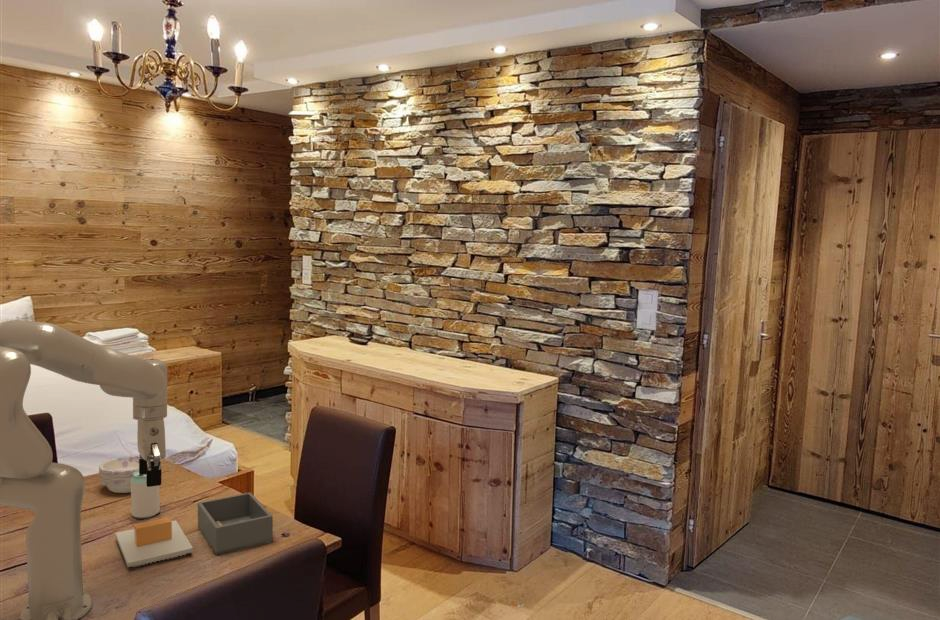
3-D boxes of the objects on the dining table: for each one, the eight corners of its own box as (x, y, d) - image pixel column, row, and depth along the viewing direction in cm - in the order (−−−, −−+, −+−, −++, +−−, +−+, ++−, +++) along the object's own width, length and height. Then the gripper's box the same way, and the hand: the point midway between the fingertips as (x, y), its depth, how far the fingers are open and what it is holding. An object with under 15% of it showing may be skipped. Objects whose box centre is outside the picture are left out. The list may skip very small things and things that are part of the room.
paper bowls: (148, 475, 216) (147, 451, 215) (161, 490, 205) (161, 464, 204) (94, 485, 206) (93, 460, 206) (105, 501, 195) (104, 475, 194)
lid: (192, 555, 165) (192, 530, 164) (127, 571, 157) (127, 544, 156) (176, 527, 180) (175, 504, 179) (115, 540, 172) (114, 515, 171)
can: (159, 517, 186) (158, 475, 184) (130, 521, 183) (129, 478, 182) (160, 507, 192) (159, 467, 191) (132, 510, 189) (131, 469, 188)
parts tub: (272, 541, 174) (272, 515, 173) (216, 555, 166) (216, 528, 165) (250, 516, 188) (250, 492, 188) (198, 527, 180) (197, 502, 179)
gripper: (174, 417, 159) (174, 488, 161) (159, 402, 173) (159, 467, 175) (139, 420, 155) (139, 493, 156) (127, 405, 169) (127, 471, 171)
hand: (150, 479), depth 166 cm, fingers open, 9 cm apart
